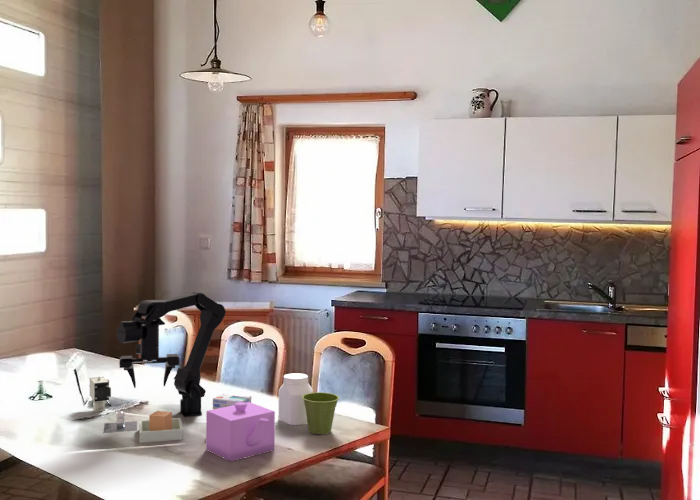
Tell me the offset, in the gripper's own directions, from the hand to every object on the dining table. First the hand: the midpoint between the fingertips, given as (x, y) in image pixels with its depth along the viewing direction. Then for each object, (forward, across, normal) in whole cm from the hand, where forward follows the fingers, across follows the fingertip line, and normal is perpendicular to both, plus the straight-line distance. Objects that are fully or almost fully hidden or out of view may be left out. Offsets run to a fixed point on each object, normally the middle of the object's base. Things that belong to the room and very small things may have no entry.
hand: (149, 386), depth 233 cm
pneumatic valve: (+12, +16, -18) cm, 27 cm away
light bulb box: (+12, -25, +14) cm, 31 cm away
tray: (+12, -3, +15) cm, 19 cm away
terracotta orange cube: (+11, -3, +15) cm, 19 cm away
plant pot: (+12, -52, +22) cm, 58 cm away
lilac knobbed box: (+12, -26, +34) cm, 44 cm away
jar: (+12, -47, +8) cm, 49 cm away
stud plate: (+12, +9, +4) cm, 16 cm away
